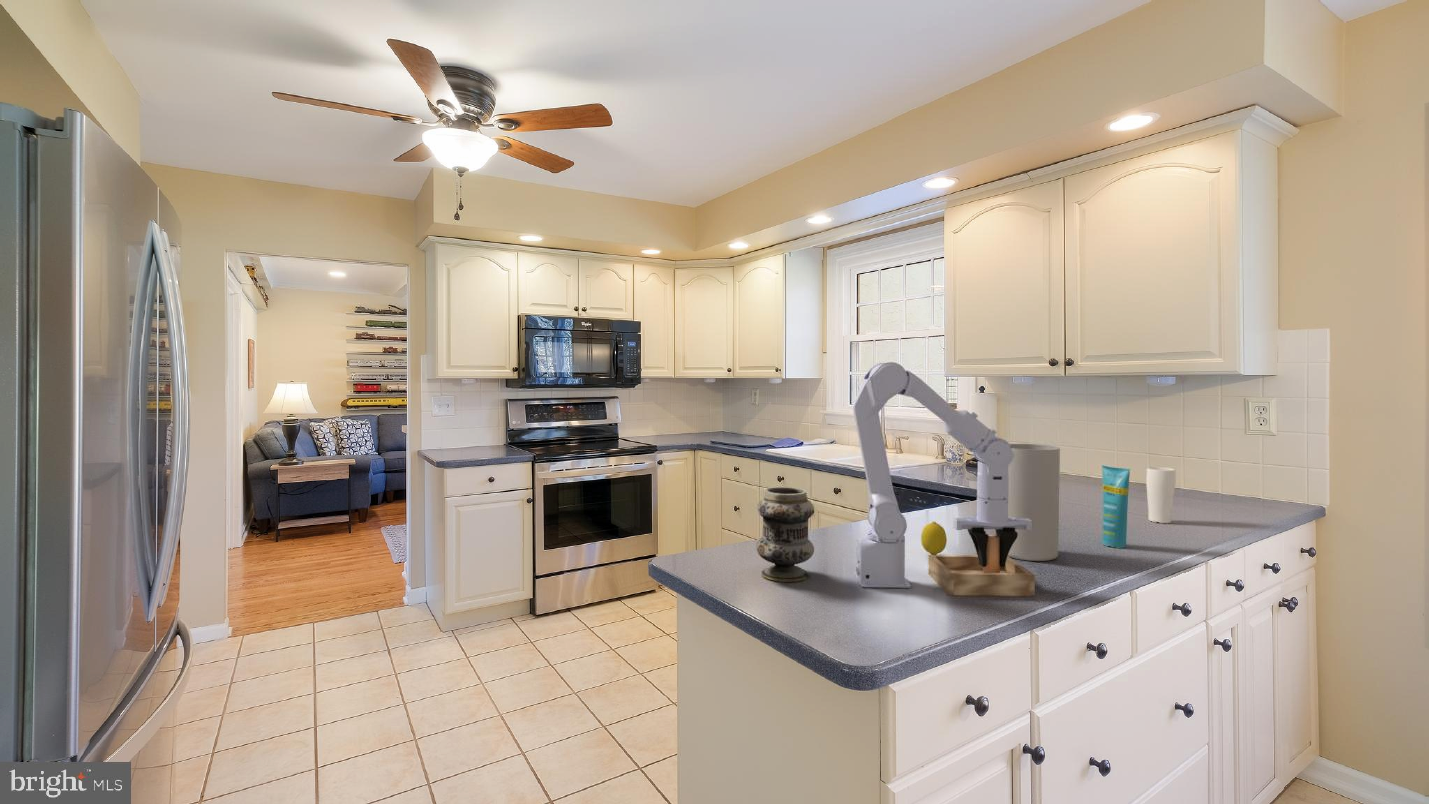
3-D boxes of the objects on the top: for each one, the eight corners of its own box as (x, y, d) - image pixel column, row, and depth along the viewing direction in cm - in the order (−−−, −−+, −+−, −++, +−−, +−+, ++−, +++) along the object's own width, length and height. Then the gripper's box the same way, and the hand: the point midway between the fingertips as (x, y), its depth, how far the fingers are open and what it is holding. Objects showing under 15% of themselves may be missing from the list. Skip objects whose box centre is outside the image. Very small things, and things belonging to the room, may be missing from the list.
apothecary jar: (809, 586, 127) (809, 496, 127) (750, 581, 131) (749, 493, 130) (818, 569, 139) (818, 486, 138) (763, 564, 143) (763, 483, 142)
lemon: (948, 560, 145) (948, 524, 145) (922, 558, 146) (922, 523, 146) (944, 553, 151) (944, 519, 150) (919, 552, 152) (920, 518, 151)
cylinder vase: (1017, 544, 158) (1018, 442, 157) (1068, 556, 148) (1070, 447, 147) (986, 552, 151) (988, 446, 150) (1039, 565, 141) (1040, 451, 140)
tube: (1093, 543, 159) (1094, 465, 158) (1106, 541, 161) (1108, 464, 160) (1122, 550, 152) (1124, 469, 151) (1136, 548, 154) (1138, 468, 153)
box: (948, 595, 122) (948, 574, 122) (928, 573, 135) (928, 555, 135) (1034, 595, 121) (1034, 574, 121) (1006, 574, 134) (1006, 555, 134)
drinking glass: (1173, 520, 182) (1174, 468, 182) (1175, 525, 176) (1176, 471, 176) (1144, 518, 186) (1145, 466, 185) (1145, 522, 180) (1146, 469, 179)
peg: (986, 578, 127) (986, 537, 127) (981, 574, 130) (981, 534, 130) (1002, 578, 127) (1001, 538, 127) (996, 574, 130) (996, 534, 130)
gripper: (1021, 493, 131) (1020, 559, 132) (948, 493, 132) (948, 559, 132) (1037, 500, 124) (1036, 570, 125) (960, 500, 125) (959, 569, 125)
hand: (991, 565), depth 128 cm, fingers closed on peg, 3 cm apart
